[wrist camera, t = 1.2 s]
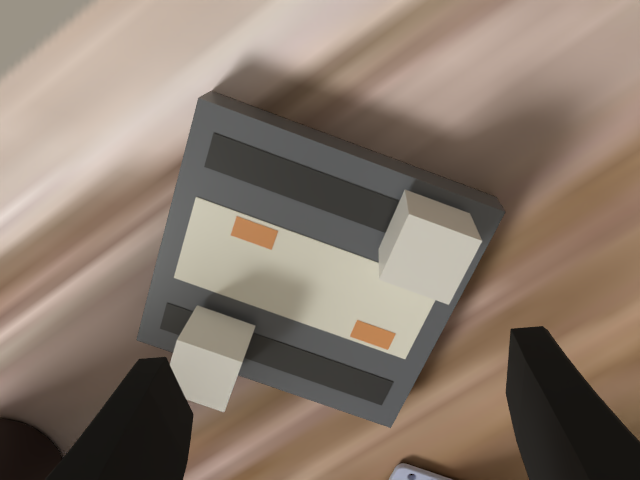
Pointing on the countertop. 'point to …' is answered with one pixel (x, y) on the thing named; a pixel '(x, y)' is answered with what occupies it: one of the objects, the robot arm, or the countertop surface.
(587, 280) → the countertop surface
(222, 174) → the switch panel
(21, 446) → the bottle
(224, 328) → the tab back
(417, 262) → the tab front
